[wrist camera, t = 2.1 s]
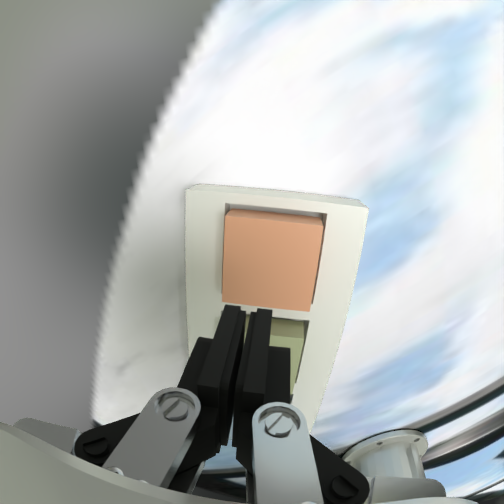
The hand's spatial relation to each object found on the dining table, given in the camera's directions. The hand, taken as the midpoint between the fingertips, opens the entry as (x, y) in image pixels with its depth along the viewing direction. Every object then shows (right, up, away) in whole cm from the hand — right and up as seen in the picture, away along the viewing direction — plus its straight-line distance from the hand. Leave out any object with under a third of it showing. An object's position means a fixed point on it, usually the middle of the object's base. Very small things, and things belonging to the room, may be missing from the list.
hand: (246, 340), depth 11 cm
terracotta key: (+1, +3, +10) cm, 11 cm away
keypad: (+1, -4, +15) cm, 16 cm away
